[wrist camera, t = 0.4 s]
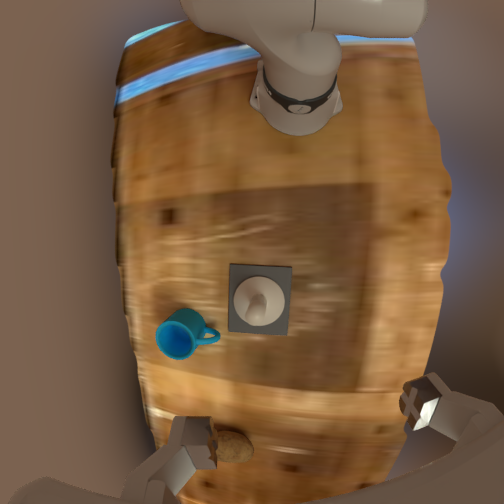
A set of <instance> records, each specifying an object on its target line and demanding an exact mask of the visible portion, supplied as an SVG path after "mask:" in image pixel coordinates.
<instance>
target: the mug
mask: <svg viewBox="0 0 504 504" xmlns="http://www.w3.org/2000/svg"><path fill="white" fill-rule="evenodd" d="M206 333H210V334H213V335H215V336H214V337H211V338H203V337H204V336H205V334H206ZM219 339H220V333H219V332H218V331H217V330H215V329H212V328H209V327H206V323H205V321H204V319H203V317H202V316H201V315H200V314H199V313H198V312H196V311H194V310H192V309H188V308H186V309H180V310H178V311H176V312H175V313H174V314H173V315H171V316H170V317H169V318H168V319H167V320H166V321H164V322H163V323H162V324H161V325H160V326H159V327H158V329H157V331H156V342H157V345H158V347H159V349H160V350H161V351H162V352H163V353H164V354H165V355H166V356H168V357H170V358H172V359H176V360H183V359H186V358H188V357H189V356H191V355H192V354H193V352H194V351H195V349H196V348H197V346H198V345H203V344H211V343H215V342H217V341H218V340H219Z"/></svg>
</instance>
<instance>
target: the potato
mask: <svg viewBox="0 0 504 504" xmlns="http://www.w3.org/2000/svg"><path fill="white" fill-rule="evenodd" d="M217 436H218V449H217V450H216V454H217V460H218V461H222V462H232V463H236V462H246V461H248V460H250V459H251V458H252V456H253V453H254V447H253V445H252V443H251V442H250V440H249V439H248V438H246V437H245V436H244V435H241V434H239V433H236V432H232V431H219V432H217Z"/></svg>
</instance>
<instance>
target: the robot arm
mask: <svg viewBox="0 0 504 504" xmlns="http://www.w3.org/2000/svg"><path fill="white" fill-rule="evenodd" d="M180 4H181V7H182V9H183V11H184V13H185V14H186V16H187V17H188V18H189V19H190V21H192V22H193V23H194V24H195V25H196V26H197V27H199V28H200V29H202V30H204V31H206V32H213V33H218V34H222V35H226V36H229V37H232V38H235V39H237V40H240V41H242V42H244V43H245V44H247V45H249V46H250V47H252V48H253V49H255V50H256V51H257V52H259V53H260V54H261V56H262V60H259V61H258V64H257V70H258V73H257V77H256V80H255V84H254V87H253V91H252V94H251V98H250V105H251V107H252V108H254V109H255V110H257V111H259V112H260V113H262V115H263V116H264V117H265V119H266V120H267V121H268V123H269V124H270V125H272V126H273V127H274V128H275V129H277V130H279V131H281V132H283V133H286V134H289V135H297V136H300V135H308V134H311V133H314V132H316V131H318V130H319V129H321V128H322V127H323V126H324V125H325V124H326V123H327V122H328V120H329V119H330V118H331V117H332V116H334V115H336V114H338V113H339V112H341V111H342V108H343V104H342V101H341V97H340V92H339V90H338V87H337V83H336V82H337V71H338V68H339V65H340V62H341V58H342V50H341V46H340V43H339V41H338V39H337V38H336V37H335V35H334V34H344V35H353V36H360V37H368V38H409V37H411V36H413V35H414V34H415V33H417V31H419V29H421V27H422V26H423V24H424V22H425V20H426V18H427V14H428V0H180ZM256 96H257V98H255V97H256ZM403 390H404V392H403V394H402V395H401V396H400V400H399V407H400V410H401V412H402V414H403V415H405V416H407V417H408V419H407V422H408V423H409V425H410V427H411V428H412V430H413V431H414V430H417V429H419V428H422V427H425V426H427V425H429V426H430V427H432V428H433V429H435V430H437V431H439V432H441V433H442V434H444V435H446V436H448V437H450V438H452V439H454V440H455V441H457V443H456V445H455V446H454V448H453V450H452V452H451V453H449V454H448V455H446V456H444V457H442V458H440V459H438V460H436V461H434V462H432V463H429V464H427V465H425V466H423V467H421V468H418V469H416V470H414V471H411V472H409V473H406V474H404V475H401V476H399V477H396V478H394V479H391V480H388V481H385V482H382V483H380V484H377V485H373V486H370V487H367V488H364V489H360V490H357V491H353V492H350V493H346V494H342V495H338V496H334V497H329V498H325V499H320V500H315V501H310V502H304V503H298V504H504V416H503V415H502V414H501V412H500V411H499V410H498V409H497V408H496V407H495V406H494V405H493V404H492V403H489V402H486V401H483V400H480V399H476V398H473V397H470V396H467V395H464V394H461V393H458V392H455V391H454V392H451V390H450V389H449V388H448V387H447V386H446V385H445V384H444V382H443V381H442V380H441V379H440V378H439V377H438V376H437V375H436V374H435V373H430V374H427V375H425V376H421V377H419V378H416V379H413V380H410V381H407V382H405V384H404V385H403ZM213 425H214V421H213V418H212V417H211V416H175V417H174V419H173V422H172V427H171V431H170V435H169V439H168V444H167V445H163V446H162V447H161V448H160V449H159V450H157V451H156V452H155V453H154V454H153V455H151V456H150V457H149V458H148V459H147V460H145V461H144V462H143V463H142V464H141V465H139V466H138V467H137V468H136V469H134V470H133V471H132V472H131V473H129V474H128V475H127V477H126V481H125V484H124V488H123V491H122V494H121V498H115V497H111V496H107V495H103V494H99V493H95V492H92V491H88V490H85V489H82V488H79V487H75V486H72V485H69V484H67V483H64V482H61V481H59V480H56V479H53V478H50V477H42V478H39V479H37V480H35V481H32V482H30V483H28V484H26V485H24V486H22V487H20V488H19V489H18V490H17V491H16V492H15V494H14V495H13V496H12V497H11V499H10V501H9V503H8V504H181V503H180V502H179V501H178V499H177V498H176V497H175V495H176V494H177V493H178V492H179V491H180V489H181V488H182V487H183V486H184V485H185V484H186V482H187V481H188V480H189V479H190V478H191V476H192V475H193V474H194V473H195V472H196V469H217V454H216V450H217V449H218V436H217V431H216V428H214V427H213Z"/></svg>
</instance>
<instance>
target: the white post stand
mask: <svg viewBox="0 0 504 504" xmlns="http://www.w3.org/2000/svg"><path fill="white" fill-rule="evenodd" d="M284 304H285V299H284V294H283V291H282V289H281V288H280V286H279V285H278V284H277V283H276V282H274V281H273V280H271V279H269V278H267V277H261V276H256V277H251V278H249V279H247V280H245V281H243V282H242V283H241V284H240V285H239V287H238V288H237V290H236V292H235V295H234V307H235V310H236V312H237V314H238V315H239V317H240V318H241V319H242V320H244V321H245V322H247V323H249V324H250V325H253V326H263V325H268V324H270V323H272V322H274V321H275V320H277V319H278V318H279V316H280V315H281V313H282V312H283V309H284Z"/></svg>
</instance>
